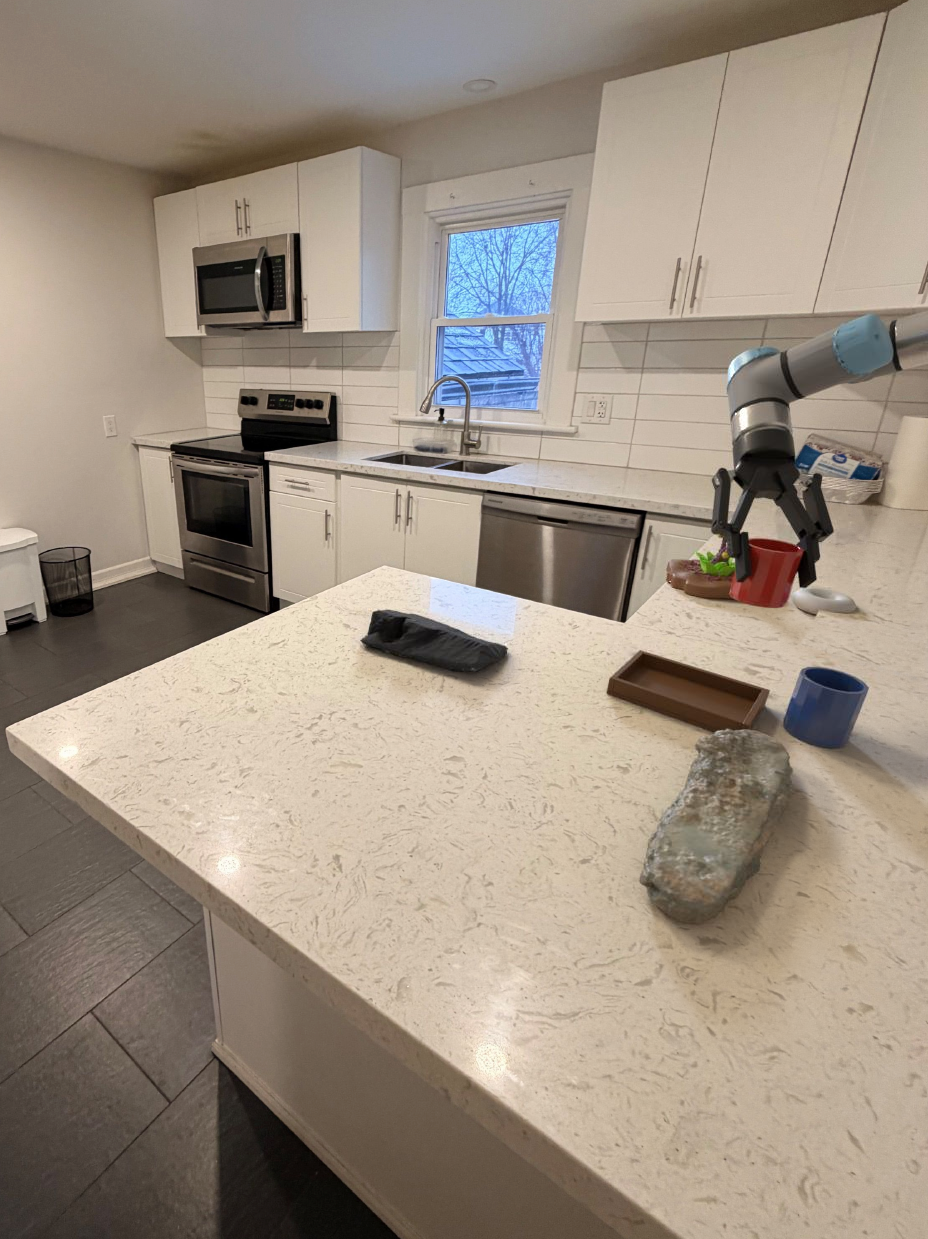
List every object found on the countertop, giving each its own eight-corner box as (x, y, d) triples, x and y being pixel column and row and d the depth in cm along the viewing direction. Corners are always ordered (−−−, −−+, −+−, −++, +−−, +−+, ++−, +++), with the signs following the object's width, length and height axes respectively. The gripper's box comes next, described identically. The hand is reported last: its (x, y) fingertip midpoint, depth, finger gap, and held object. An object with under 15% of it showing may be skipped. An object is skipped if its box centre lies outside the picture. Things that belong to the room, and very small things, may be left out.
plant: (749, 573, 143) (763, 525, 139) (785, 605, 126) (803, 551, 121) (653, 565, 147) (664, 517, 143) (675, 595, 130) (688, 542, 125)
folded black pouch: (470, 688, 93) (474, 659, 91) (351, 643, 106) (352, 617, 104) (515, 652, 104) (519, 626, 102) (402, 616, 117) (404, 592, 115)
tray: (764, 705, 90) (770, 689, 89) (744, 742, 82) (749, 725, 81) (636, 664, 101) (639, 649, 100) (606, 693, 93) (609, 677, 92)
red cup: (790, 599, 92) (808, 545, 89) (780, 612, 87) (799, 556, 84) (735, 586, 96) (750, 535, 93) (723, 598, 91) (738, 544, 88)
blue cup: (850, 732, 84) (871, 679, 81) (843, 755, 80) (865, 699, 77) (787, 712, 89) (805, 661, 86) (777, 733, 84) (796, 679, 81)
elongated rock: (605, 897, 60) (722, 967, 54) (618, 857, 58) (742, 926, 52) (711, 730, 83) (801, 766, 77) (723, 697, 81) (817, 731, 75)
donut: (785, 610, 124) (849, 624, 118) (790, 594, 123) (855, 607, 116) (794, 597, 131) (855, 609, 124) (799, 581, 129) (861, 593, 123)
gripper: (823, 460, 97) (842, 599, 88) (679, 453, 100) (685, 585, 92) (853, 429, 90) (877, 575, 81) (698, 422, 93) (706, 561, 85)
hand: (775, 580), depth 87 cm, fingers closed on red cup, 7 cm apart
